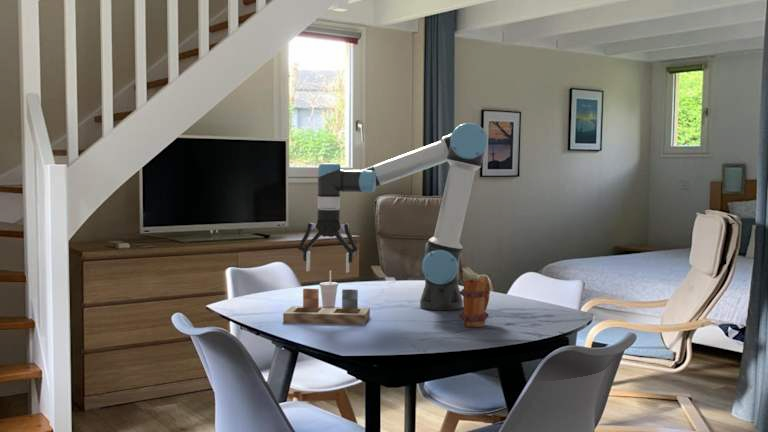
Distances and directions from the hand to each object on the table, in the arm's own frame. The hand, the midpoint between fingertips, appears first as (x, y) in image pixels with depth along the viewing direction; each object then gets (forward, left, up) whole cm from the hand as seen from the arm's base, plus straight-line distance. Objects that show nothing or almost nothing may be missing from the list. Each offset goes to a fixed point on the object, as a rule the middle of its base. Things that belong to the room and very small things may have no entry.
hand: (327, 271), depth 270 cm
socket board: (-2, +15, -14) cm, 20 cm away
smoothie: (0, 0, -14) cm, 14 cm away
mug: (-50, +17, -14) cm, 55 cm away
